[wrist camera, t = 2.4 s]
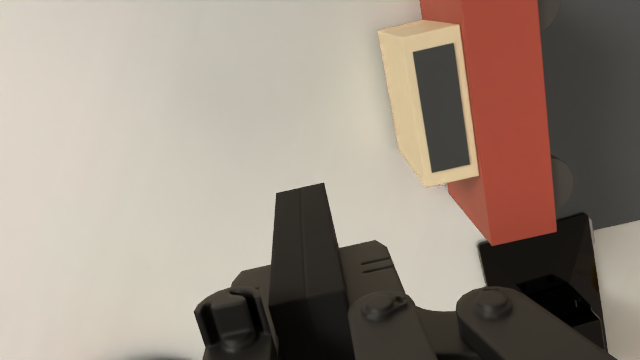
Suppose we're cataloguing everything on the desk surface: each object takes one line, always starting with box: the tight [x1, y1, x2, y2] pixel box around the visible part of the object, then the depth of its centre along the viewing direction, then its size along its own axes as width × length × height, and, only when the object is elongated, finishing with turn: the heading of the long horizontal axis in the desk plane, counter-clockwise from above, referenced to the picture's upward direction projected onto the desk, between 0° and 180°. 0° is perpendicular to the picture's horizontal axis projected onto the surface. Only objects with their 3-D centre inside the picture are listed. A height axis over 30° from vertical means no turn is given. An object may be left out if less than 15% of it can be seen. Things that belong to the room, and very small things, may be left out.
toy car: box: [378, 0, 574, 246], centre depth 27 cm, size 13×7×8 cm, turn 12°
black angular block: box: [477, 212, 608, 353], centre depth 34 cm, size 12×7×5 cm, turn 17°
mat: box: [540, 0, 640, 230], centre depth 31 cm, size 20×16×1 cm
